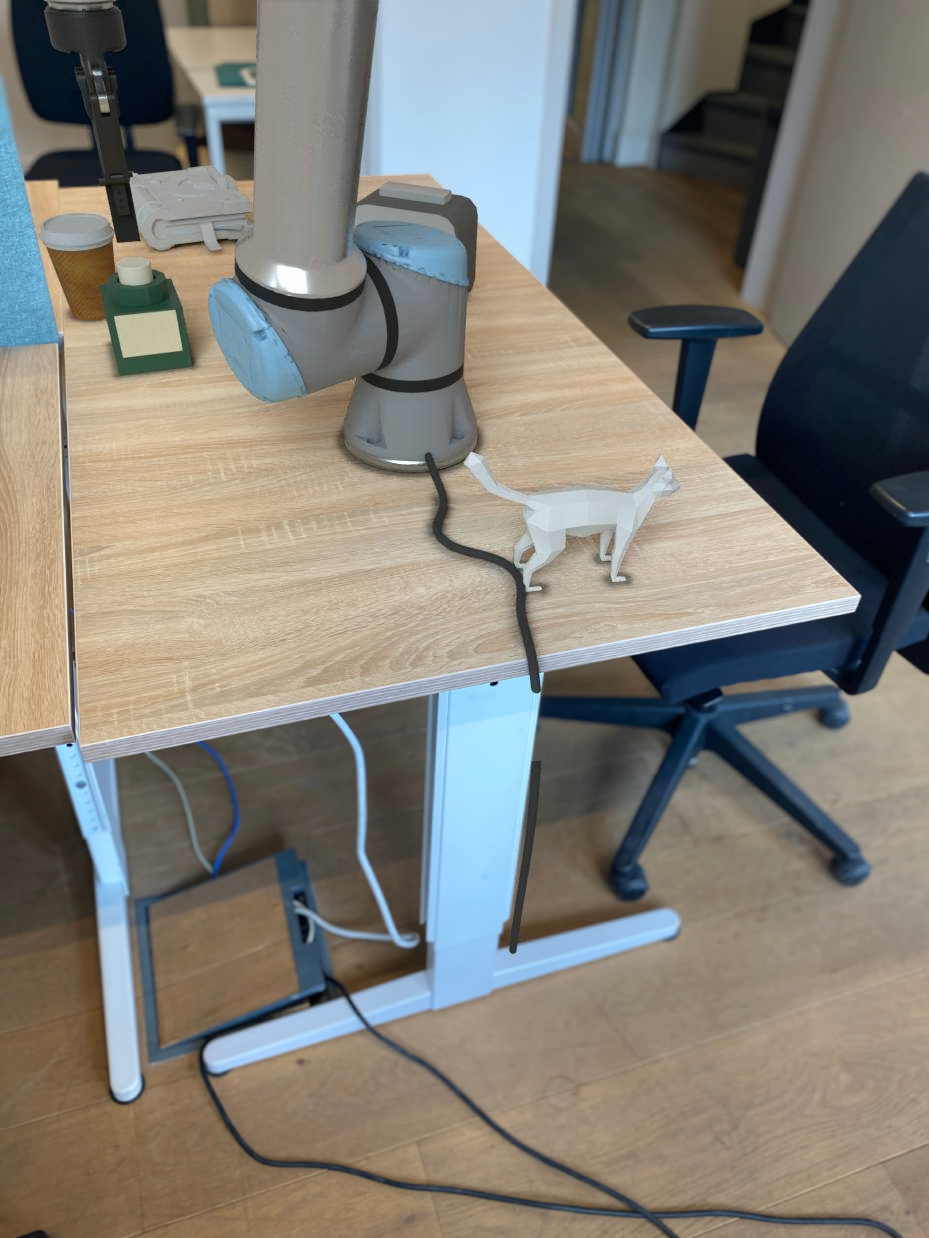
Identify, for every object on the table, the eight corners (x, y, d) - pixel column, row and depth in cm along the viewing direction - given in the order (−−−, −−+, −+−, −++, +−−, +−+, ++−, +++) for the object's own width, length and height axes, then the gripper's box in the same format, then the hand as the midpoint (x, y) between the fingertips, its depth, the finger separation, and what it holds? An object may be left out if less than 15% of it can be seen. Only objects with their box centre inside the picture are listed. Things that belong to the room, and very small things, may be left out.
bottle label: (182, 350, 114) (175, 310, 110) (123, 358, 111) (114, 316, 108) (182, 350, 114) (175, 309, 110) (122, 357, 111) (113, 316, 108)
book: (153, 264, 142) (144, 213, 137) (115, 211, 161) (105, 165, 156) (271, 248, 150) (266, 199, 145) (221, 200, 168) (215, 155, 163)
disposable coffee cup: (143, 304, 130) (126, 217, 122) (106, 329, 123) (85, 239, 115) (85, 295, 132) (64, 208, 124) (45, 319, 125) (20, 229, 117)
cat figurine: (669, 579, 86) (700, 448, 76) (463, 600, 82) (469, 466, 73) (652, 551, 89) (680, 423, 80) (453, 570, 85) (458, 438, 76)
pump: (155, 285, 111) (152, 266, 109) (121, 289, 109) (117, 269, 108) (151, 274, 113) (148, 255, 112) (118, 277, 112) (114, 258, 111)
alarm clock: (351, 302, 133) (346, 190, 123) (381, 276, 142) (378, 169, 132) (455, 320, 130) (459, 206, 120) (479, 293, 138) (485, 184, 128)
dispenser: (192, 367, 115) (179, 289, 109) (119, 376, 113) (101, 297, 106) (181, 335, 122) (168, 261, 116) (111, 343, 120) (94, 267, 113)
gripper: (126, 13, 89) (167, 255, 105) (113, -5, 98) (153, 220, 114) (45, 14, 87) (100, 261, 103) (40, -5, 96) (91, 225, 112)
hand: (128, 240), depth 108 cm, fingers closed
